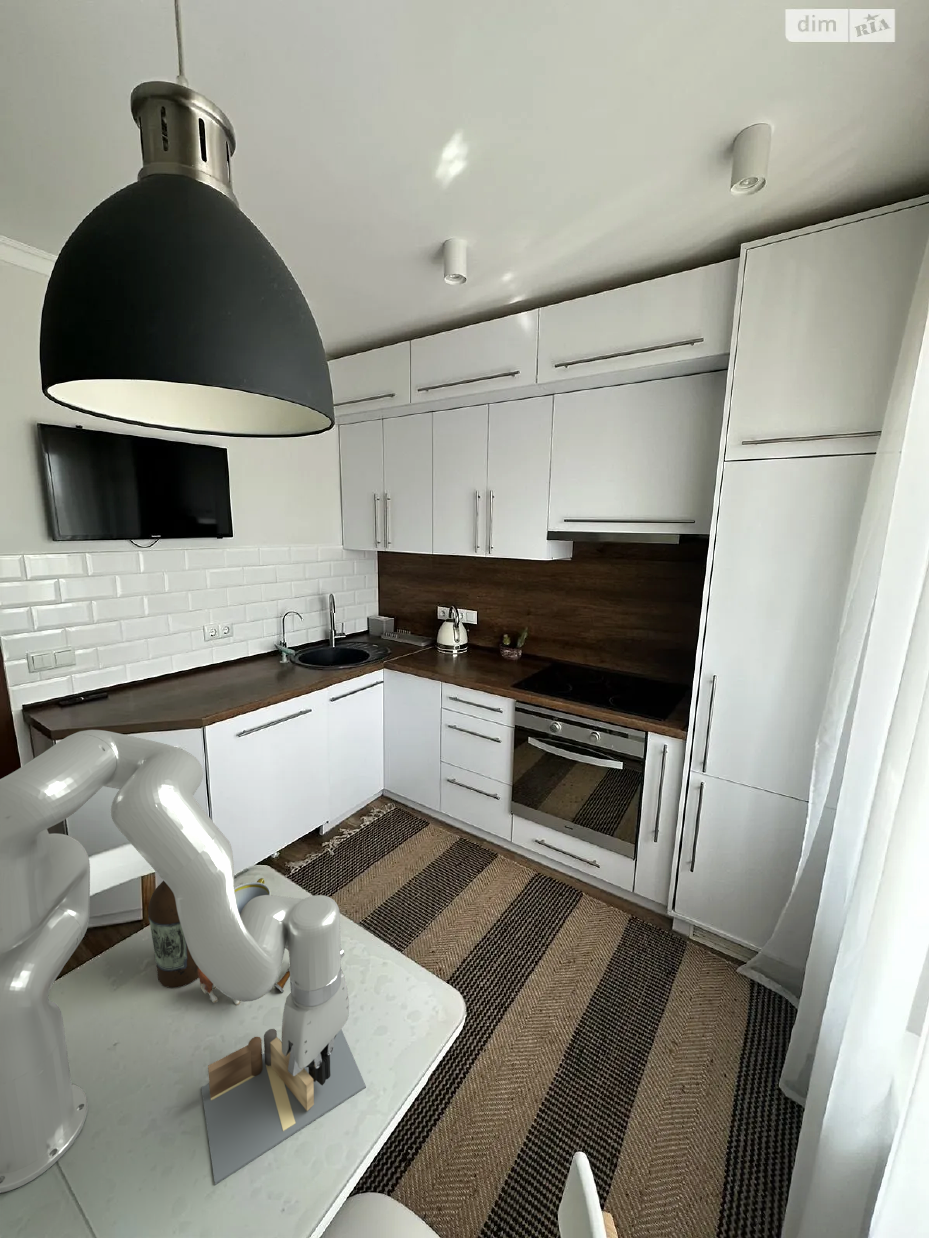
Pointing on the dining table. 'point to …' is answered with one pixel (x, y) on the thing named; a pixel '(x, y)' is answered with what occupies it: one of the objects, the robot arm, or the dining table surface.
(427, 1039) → the dining table surface
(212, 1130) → the card
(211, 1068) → the fence section
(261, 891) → the ceramic cup
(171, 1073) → the dining table surface
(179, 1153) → the dining table surface
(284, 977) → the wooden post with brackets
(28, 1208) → the dining table surface
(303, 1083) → the tan wooden board
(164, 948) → the olive oil
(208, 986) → the bull figurine
